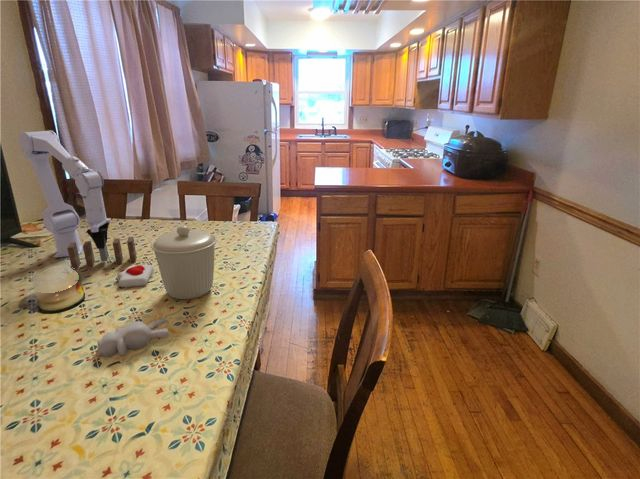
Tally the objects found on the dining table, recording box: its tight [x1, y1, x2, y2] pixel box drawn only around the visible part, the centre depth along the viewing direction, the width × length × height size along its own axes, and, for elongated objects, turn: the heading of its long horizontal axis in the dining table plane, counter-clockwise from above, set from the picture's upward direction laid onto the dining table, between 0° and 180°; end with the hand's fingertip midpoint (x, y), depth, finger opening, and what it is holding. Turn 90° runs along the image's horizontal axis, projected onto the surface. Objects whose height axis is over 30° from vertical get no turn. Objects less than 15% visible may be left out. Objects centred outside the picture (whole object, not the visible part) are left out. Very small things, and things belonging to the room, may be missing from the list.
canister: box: [150, 224, 218, 301], centre depth 112 cm, size 18×18×21 cm
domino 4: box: [126, 236, 137, 264], centre depth 136 cm, size 2×5×8 cm, turn 20°
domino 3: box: [112, 237, 124, 265], centre depth 135 cm, size 2×5×8 cm, turn 20°
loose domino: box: [98, 240, 109, 262], centre depth 133 cm, size 2×5×8 cm, turn 21°
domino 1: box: [67, 242, 81, 270], centre depth 130 cm, size 2×5×8 cm, turn 21°
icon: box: [116, 264, 154, 288], centre depth 123 cm, size 12×4×10 cm
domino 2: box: [82, 240, 96, 269], centre depth 132 cm, size 2×5×8 cm, turn 21°
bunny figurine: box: [96, 317, 170, 358], centre depth 90 cm, size 10×5×15 cm
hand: (102, 245), depth 132 cm, fingers closed on loose domino, 5 cm apart
